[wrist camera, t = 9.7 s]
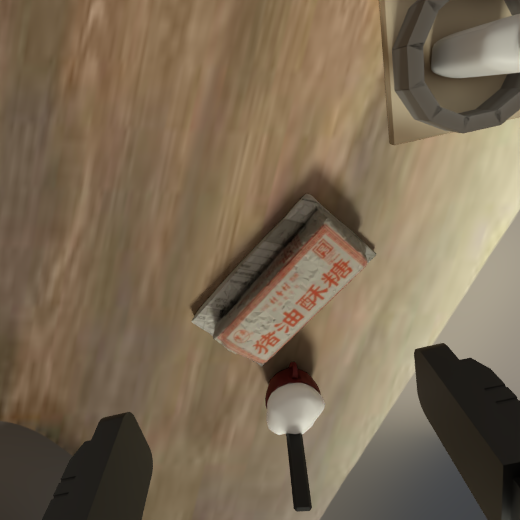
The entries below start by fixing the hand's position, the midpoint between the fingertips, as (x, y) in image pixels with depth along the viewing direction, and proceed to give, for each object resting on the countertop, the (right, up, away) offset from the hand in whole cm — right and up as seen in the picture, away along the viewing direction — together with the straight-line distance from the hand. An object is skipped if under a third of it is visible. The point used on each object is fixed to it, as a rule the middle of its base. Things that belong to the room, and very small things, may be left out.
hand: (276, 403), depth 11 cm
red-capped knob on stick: (+3, -11, +35) cm, 36 cm away
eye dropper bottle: (+16, +21, +21) cm, 34 cm away
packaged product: (+2, +2, +30) cm, 30 cm away
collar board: (+16, +21, +22) cm, 34 cm away
